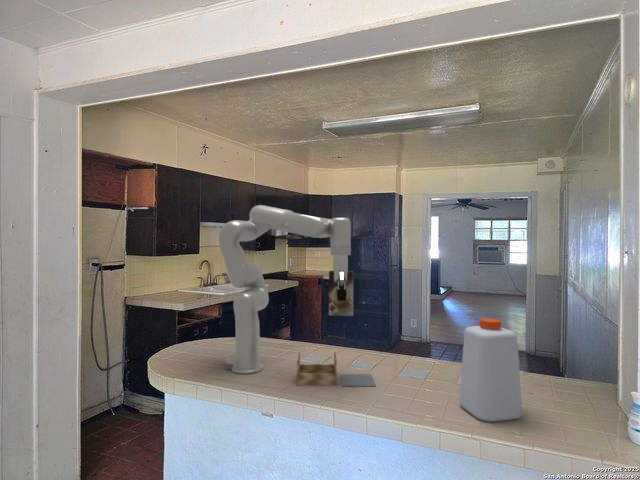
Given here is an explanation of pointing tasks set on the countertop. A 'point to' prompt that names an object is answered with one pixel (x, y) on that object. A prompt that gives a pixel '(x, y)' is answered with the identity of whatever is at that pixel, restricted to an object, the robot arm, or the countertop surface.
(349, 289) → the coffee box
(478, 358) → the plastic bottle
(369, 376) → the mat
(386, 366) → the countertop surface
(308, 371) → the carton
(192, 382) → the countertop surface
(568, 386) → the countertop surface
